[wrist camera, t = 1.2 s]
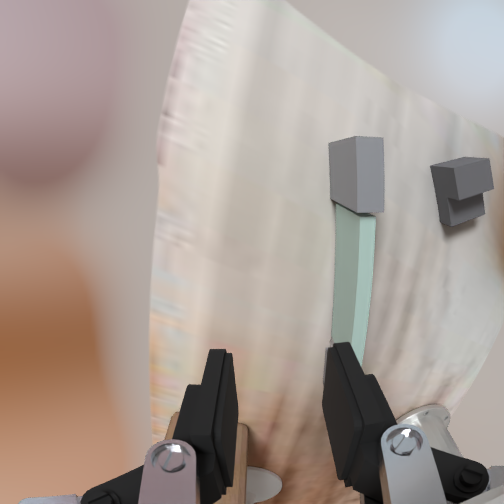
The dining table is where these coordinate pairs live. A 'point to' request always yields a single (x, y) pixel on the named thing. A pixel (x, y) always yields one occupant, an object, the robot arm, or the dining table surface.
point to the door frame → (357, 176)
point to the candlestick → (261, 485)
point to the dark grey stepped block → (461, 188)
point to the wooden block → (234, 495)
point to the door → (352, 277)
